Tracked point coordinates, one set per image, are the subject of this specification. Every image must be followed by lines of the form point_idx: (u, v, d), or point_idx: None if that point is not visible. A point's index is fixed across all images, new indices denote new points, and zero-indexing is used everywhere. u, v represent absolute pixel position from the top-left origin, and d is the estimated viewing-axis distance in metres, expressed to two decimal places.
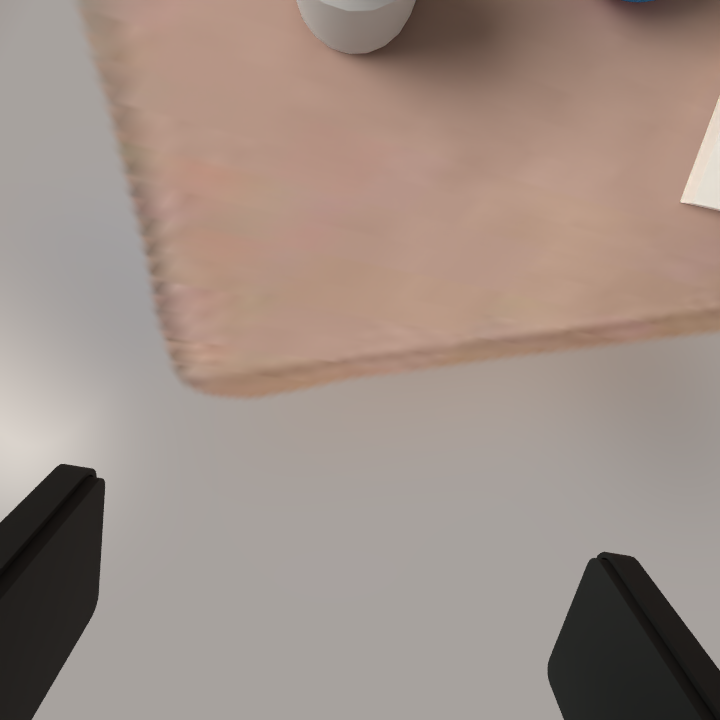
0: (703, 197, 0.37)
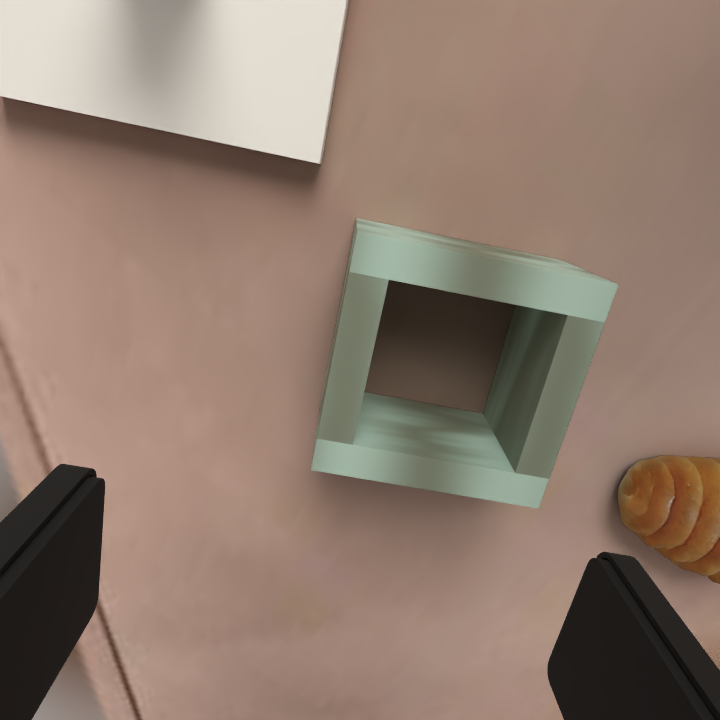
0: None
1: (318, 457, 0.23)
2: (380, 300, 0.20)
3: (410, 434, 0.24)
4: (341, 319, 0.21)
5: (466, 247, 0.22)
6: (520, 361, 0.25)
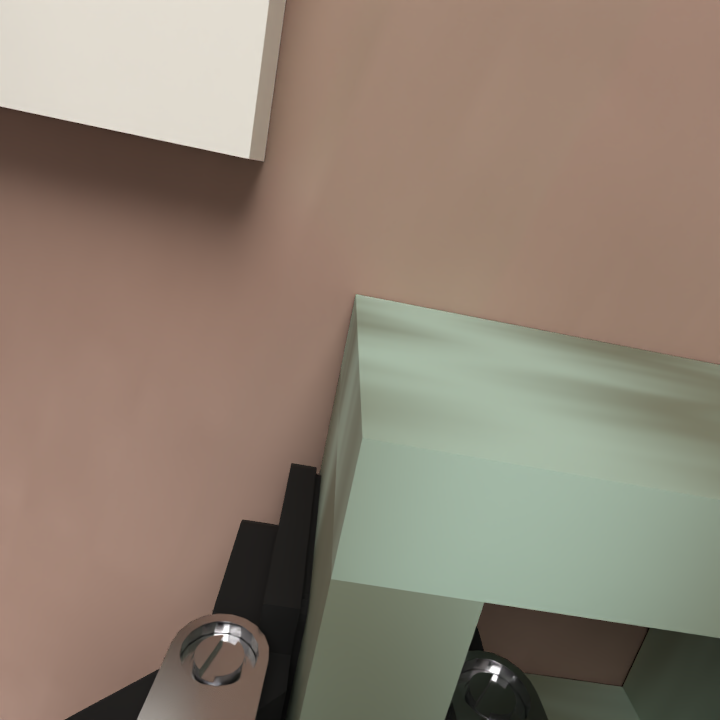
0: None
1: None
2: (448, 667, 0.05)
3: None
4: None
5: (693, 414, 0.07)
6: None
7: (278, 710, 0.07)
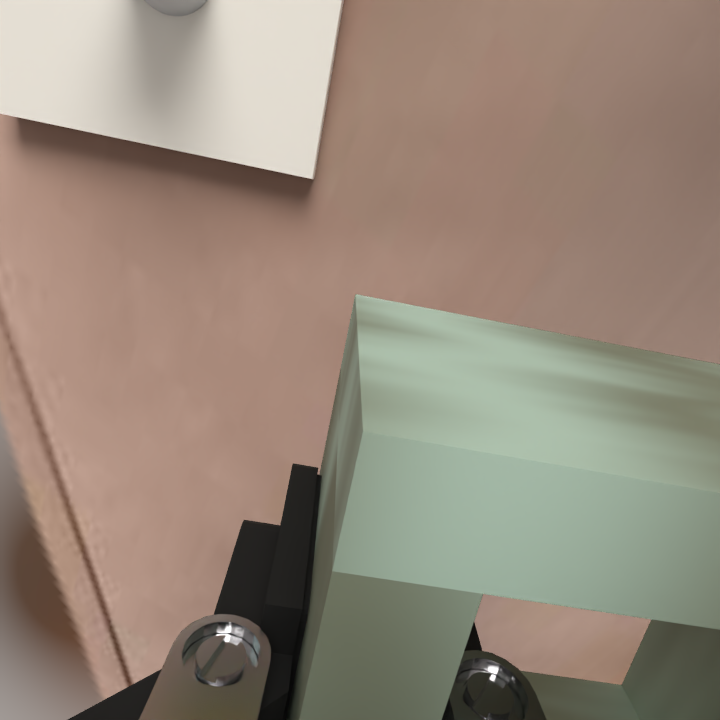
0: None
1: None
2: (448, 658, 0.06)
3: None
4: (305, 714, 0.06)
5: (688, 410, 0.07)
6: None
7: (280, 711, 0.07)
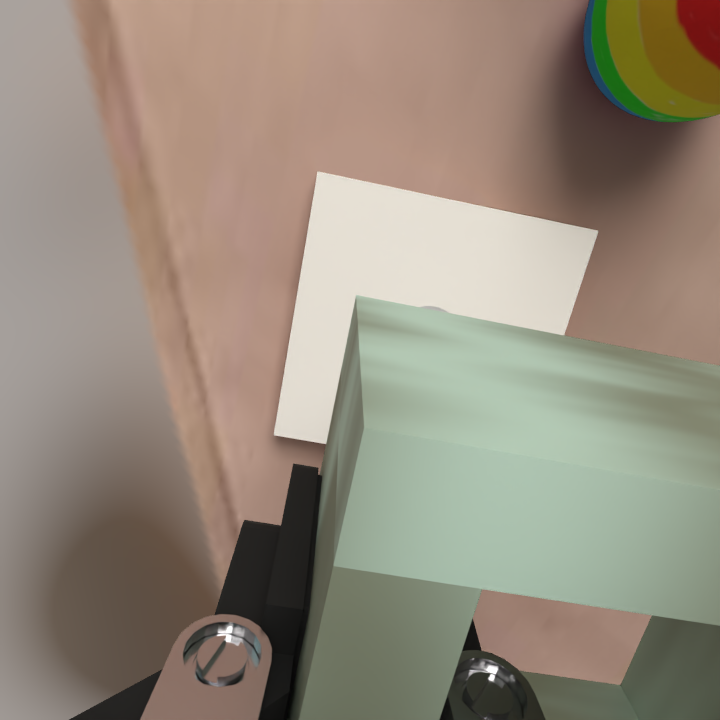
0: (325, 186, 0.26)
1: None
2: (447, 653, 0.06)
3: None
4: (306, 708, 0.06)
5: (686, 409, 0.07)
6: None
7: (281, 711, 0.07)
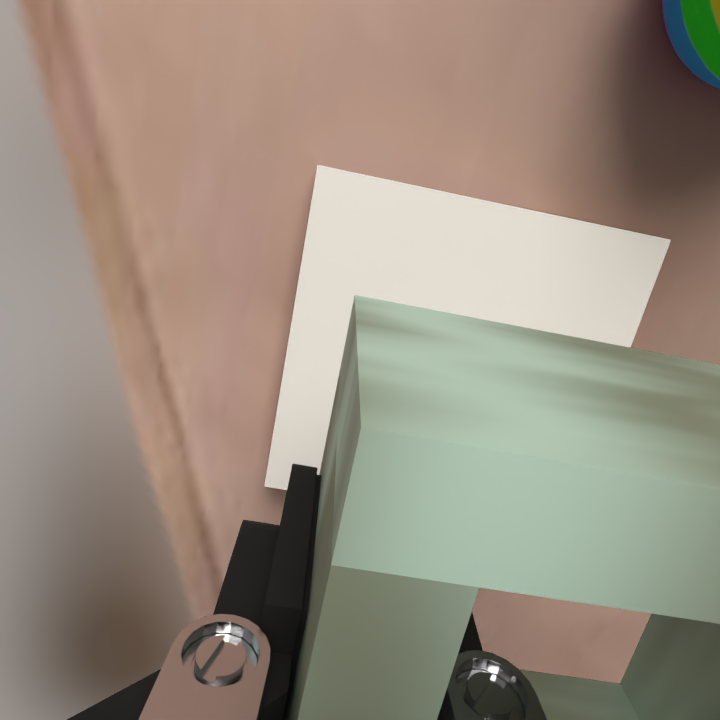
0: (328, 184, 0.20)
1: None
2: (445, 651, 0.06)
3: None
4: (305, 706, 0.06)
5: (683, 408, 0.07)
6: None
7: (279, 710, 0.07)
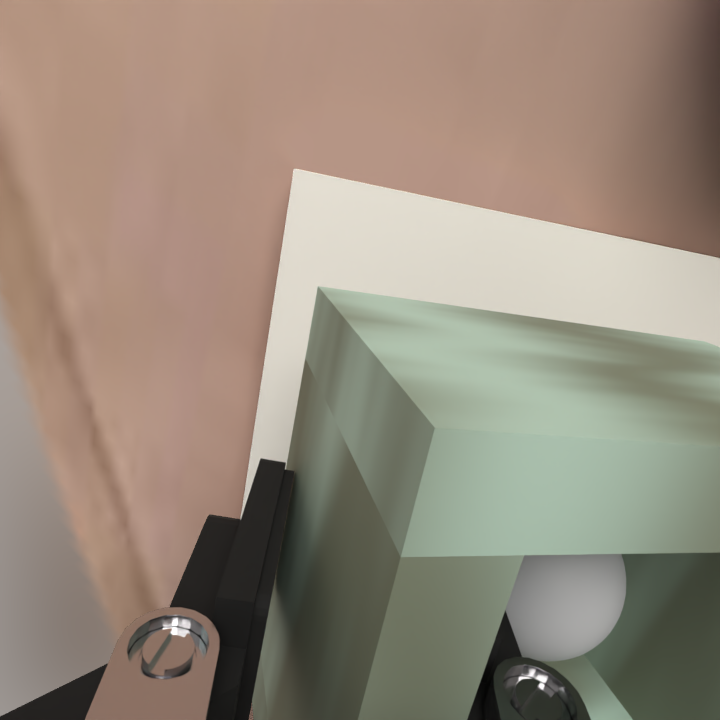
0: (308, 194, 0.15)
1: None
2: (493, 615, 0.06)
3: None
4: (370, 690, 0.06)
5: (635, 375, 0.09)
6: (681, 569, 0.12)
7: (230, 704, 0.07)
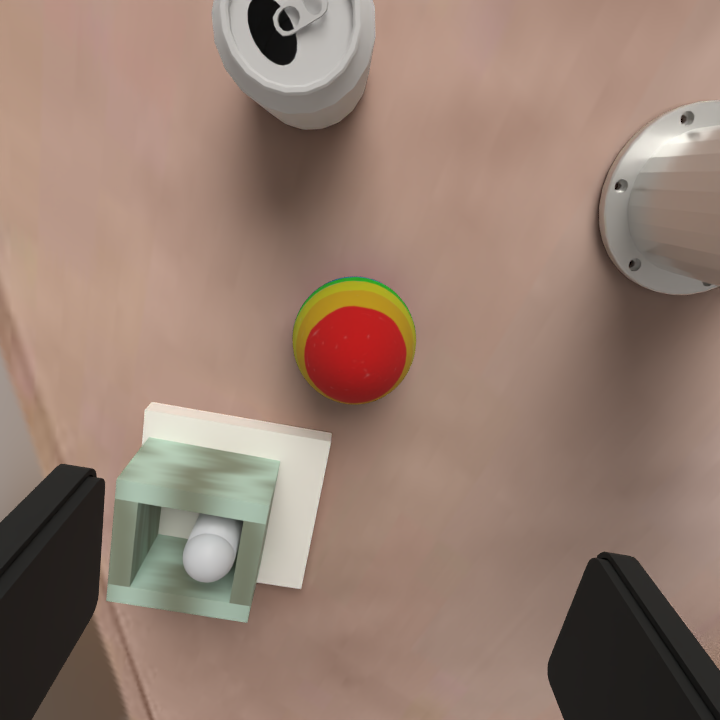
0: (151, 418, 0.41)
1: (110, 594, 0.38)
2: (134, 512, 0.36)
3: (175, 574, 0.40)
4: (113, 522, 0.36)
5: (197, 472, 0.38)
6: None
7: None
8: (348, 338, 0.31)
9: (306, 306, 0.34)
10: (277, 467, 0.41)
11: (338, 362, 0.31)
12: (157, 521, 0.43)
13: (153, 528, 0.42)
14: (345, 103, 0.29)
